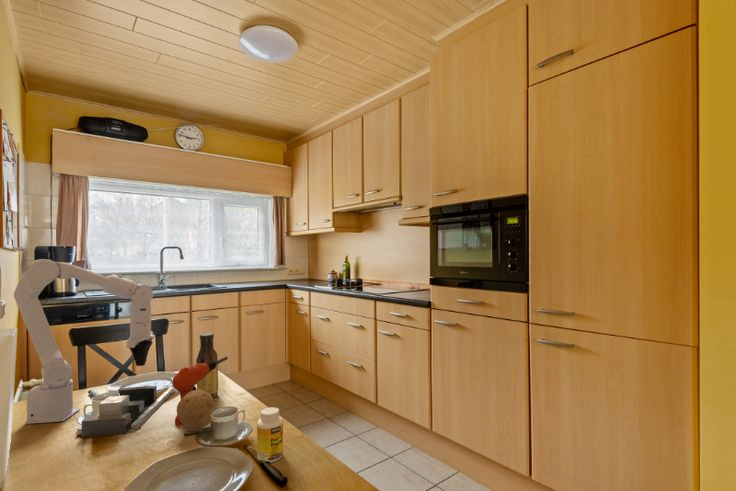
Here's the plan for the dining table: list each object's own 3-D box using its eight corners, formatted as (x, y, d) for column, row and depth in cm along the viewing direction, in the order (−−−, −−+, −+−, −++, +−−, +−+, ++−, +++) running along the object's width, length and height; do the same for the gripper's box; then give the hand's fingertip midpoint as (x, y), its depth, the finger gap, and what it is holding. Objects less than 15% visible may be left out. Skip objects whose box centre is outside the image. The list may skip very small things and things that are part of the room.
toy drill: (237, 396, 117) (232, 349, 115) (183, 430, 100) (177, 375, 99) (225, 394, 119) (220, 347, 117) (171, 427, 102) (164, 372, 101)
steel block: (99, 431, 98) (98, 403, 98) (109, 422, 103) (109, 396, 103) (120, 429, 99) (120, 402, 99) (129, 421, 104) (129, 395, 104)
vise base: (73, 438, 95) (73, 421, 95) (128, 394, 124) (128, 381, 124) (133, 433, 97) (133, 417, 97) (173, 391, 126) (173, 379, 126)
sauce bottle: (202, 393, 124) (202, 331, 125) (221, 393, 124) (221, 331, 124) (192, 400, 118) (192, 335, 118) (212, 400, 118) (212, 335, 118)
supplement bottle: (271, 466, 81) (270, 417, 81) (251, 460, 84) (251, 412, 84) (288, 454, 86) (288, 408, 86) (269, 448, 89) (269, 403, 89)
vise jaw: (99, 422, 103) (99, 403, 103) (120, 404, 115) (120, 388, 115) (139, 419, 104) (139, 401, 105) (156, 402, 116) (156, 385, 116)
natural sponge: (185, 422, 103) (184, 385, 103) (219, 420, 104) (219, 383, 104) (171, 439, 94) (171, 397, 94) (209, 436, 95) (208, 396, 95)
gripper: (144, 326, 115) (144, 371, 115) (162, 317, 130) (162, 358, 130) (119, 327, 114) (119, 372, 114) (140, 318, 129) (140, 359, 129)
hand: (140, 365), depth 122 cm, fingers closed
